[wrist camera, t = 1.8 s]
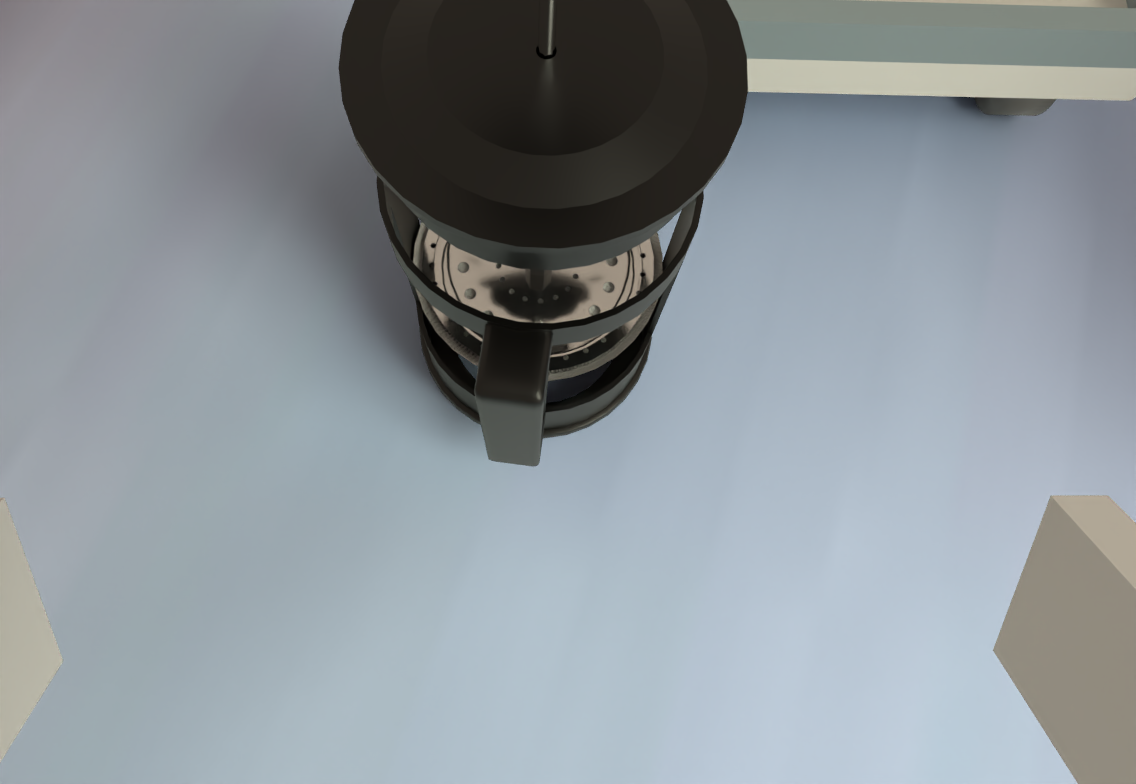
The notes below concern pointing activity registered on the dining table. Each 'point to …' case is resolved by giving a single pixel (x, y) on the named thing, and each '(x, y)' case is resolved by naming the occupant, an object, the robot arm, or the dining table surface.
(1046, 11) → the grey tray with legs
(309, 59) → the dining table surface
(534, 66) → the french press
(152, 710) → the dining table surface
